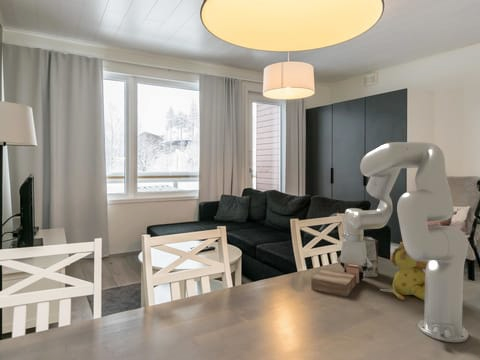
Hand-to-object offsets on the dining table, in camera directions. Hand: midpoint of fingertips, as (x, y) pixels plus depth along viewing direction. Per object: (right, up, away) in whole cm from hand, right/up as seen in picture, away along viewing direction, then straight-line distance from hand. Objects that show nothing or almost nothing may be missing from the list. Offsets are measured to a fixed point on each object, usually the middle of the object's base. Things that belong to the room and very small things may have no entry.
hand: (353, 278), depth 140 cm
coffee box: (+9, 0, +8) cm, 12 cm away
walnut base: (-11, -1, -7) cm, 13 cm away
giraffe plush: (+19, -2, -14) cm, 24 cm away
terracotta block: (0, -1, 0) cm, 1 cm away
